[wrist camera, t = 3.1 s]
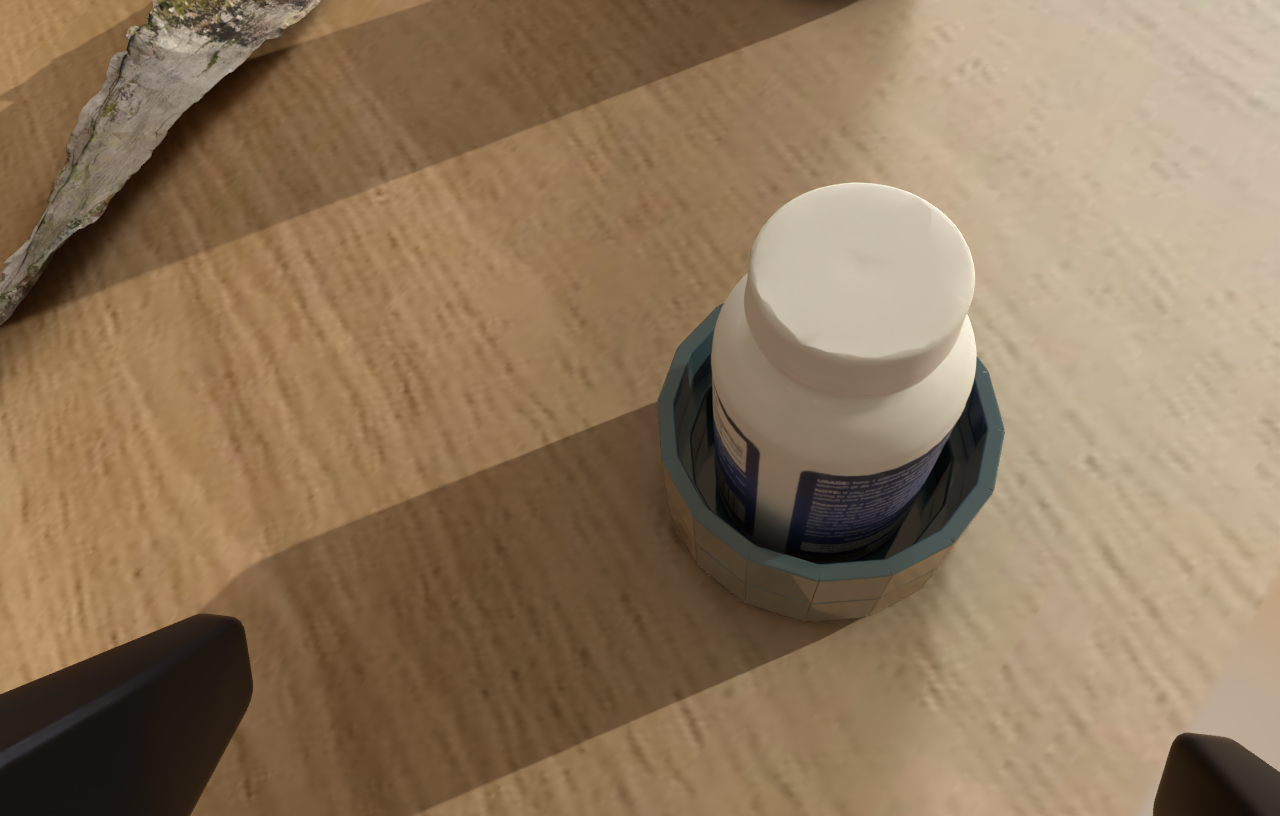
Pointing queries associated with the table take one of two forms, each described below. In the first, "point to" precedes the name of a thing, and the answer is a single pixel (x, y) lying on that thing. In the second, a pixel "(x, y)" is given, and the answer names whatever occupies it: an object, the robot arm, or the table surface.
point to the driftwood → (142, 113)
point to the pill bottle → (840, 369)
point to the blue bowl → (791, 581)
